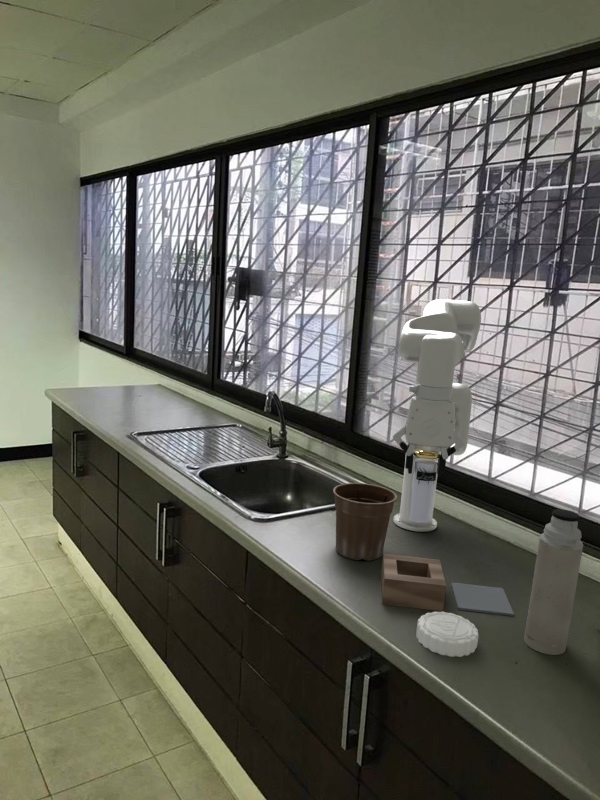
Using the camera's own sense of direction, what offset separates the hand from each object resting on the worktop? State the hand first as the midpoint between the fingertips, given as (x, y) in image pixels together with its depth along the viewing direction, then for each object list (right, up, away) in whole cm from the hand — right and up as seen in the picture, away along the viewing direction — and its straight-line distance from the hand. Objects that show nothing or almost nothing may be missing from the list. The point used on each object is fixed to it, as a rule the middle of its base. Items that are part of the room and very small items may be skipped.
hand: (424, 472), depth 143 cm
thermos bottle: (+22, -33, -12) cm, 42 cm away
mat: (+14, -29, +5) cm, 33 cm away
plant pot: (-12, -24, +26) cm, 37 cm away
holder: (-2, -28, +5) cm, 29 cm away
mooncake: (+2, -32, -13) cm, 35 cm away
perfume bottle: (-1, -11, +2) cm, 12 cm away
